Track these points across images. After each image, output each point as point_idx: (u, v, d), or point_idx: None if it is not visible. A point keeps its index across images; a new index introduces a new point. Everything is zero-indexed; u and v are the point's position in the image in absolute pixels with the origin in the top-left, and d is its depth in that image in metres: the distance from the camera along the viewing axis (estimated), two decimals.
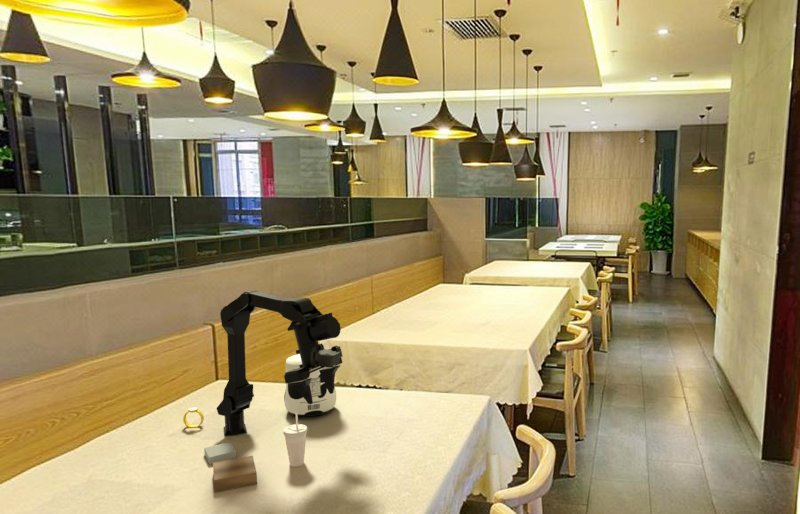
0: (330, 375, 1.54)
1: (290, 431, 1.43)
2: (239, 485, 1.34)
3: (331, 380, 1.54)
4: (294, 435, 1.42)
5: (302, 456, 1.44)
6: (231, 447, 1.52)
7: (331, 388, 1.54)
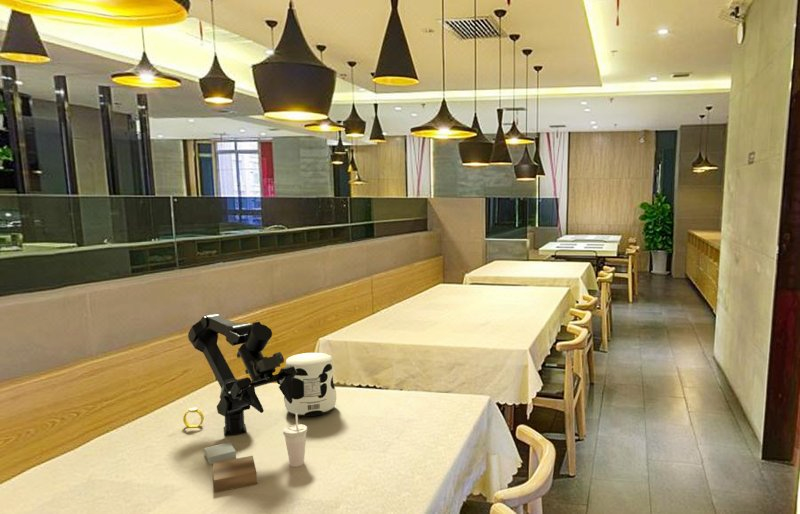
0: (285, 385, 1.56)
1: (290, 431, 1.43)
2: (239, 485, 1.34)
3: (287, 390, 1.55)
4: (294, 435, 1.42)
5: (302, 456, 1.44)
6: (231, 447, 1.52)
7: (289, 397, 1.54)
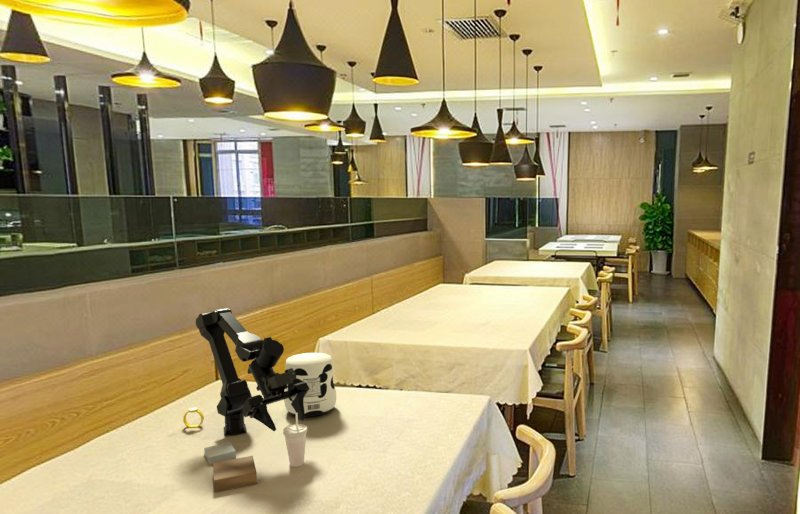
0: (298, 402, 1.52)
1: (290, 431, 1.43)
2: (239, 485, 1.34)
3: (300, 407, 1.51)
4: (294, 435, 1.42)
5: (302, 456, 1.44)
6: (231, 447, 1.52)
7: (302, 414, 1.50)
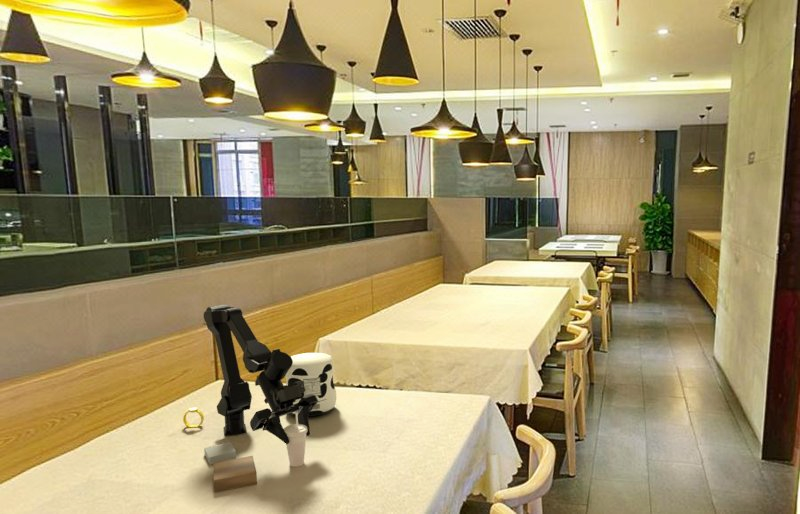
0: (302, 417, 1.48)
1: (290, 431, 1.43)
2: (239, 485, 1.34)
3: (304, 421, 1.48)
4: (294, 435, 1.42)
5: (302, 456, 1.44)
6: (231, 447, 1.52)
7: None
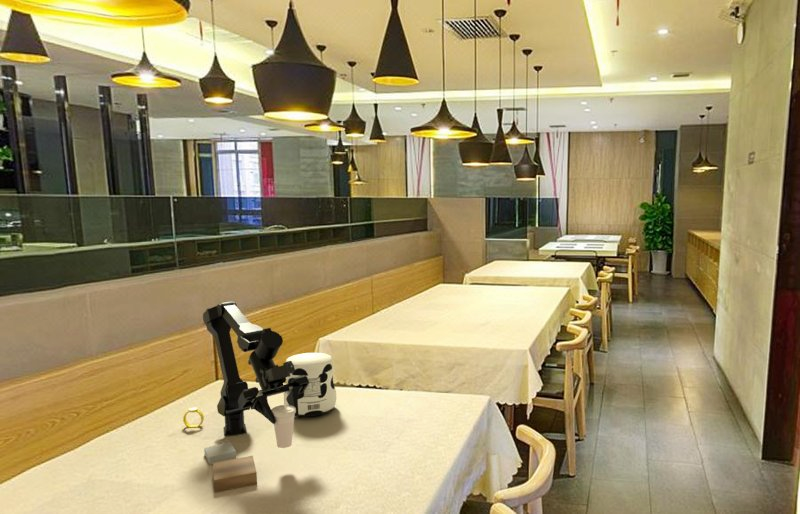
0: (292, 397, 1.46)
1: (277, 411, 1.41)
2: (239, 485, 1.34)
3: (293, 402, 1.45)
4: (281, 415, 1.40)
5: (289, 437, 1.42)
6: (231, 447, 1.52)
7: None
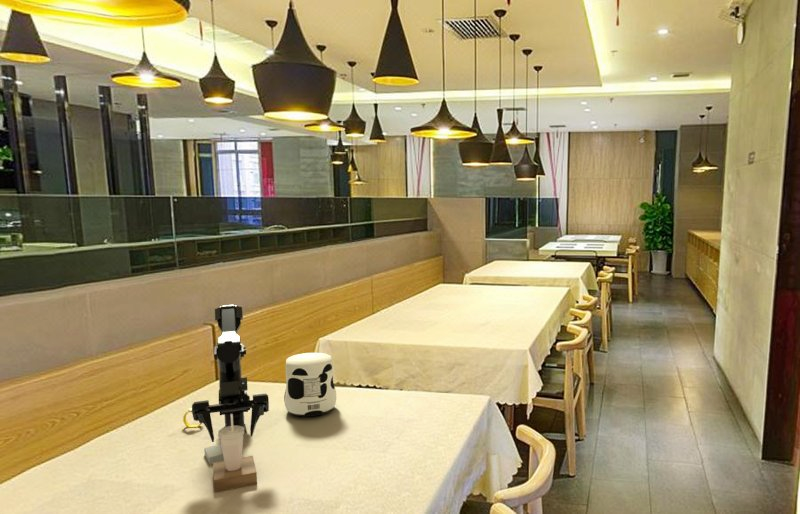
0: (251, 415, 1.40)
1: (223, 432, 1.36)
2: (239, 485, 1.34)
3: (251, 420, 1.39)
4: (223, 437, 1.35)
5: (234, 461, 1.36)
6: None
7: None
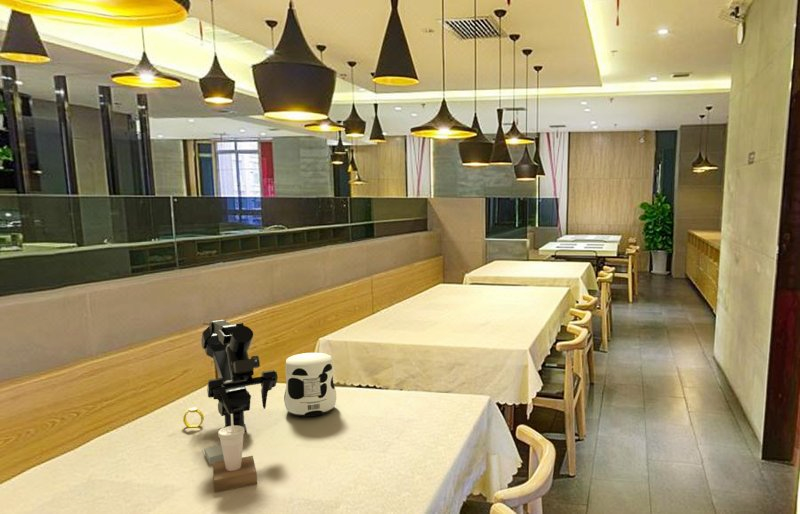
0: (262, 390, 1.54)
1: (223, 432, 1.36)
2: (239, 485, 1.34)
3: (263, 394, 1.53)
4: (223, 437, 1.35)
5: (234, 461, 1.36)
6: None
7: (263, 402, 1.52)
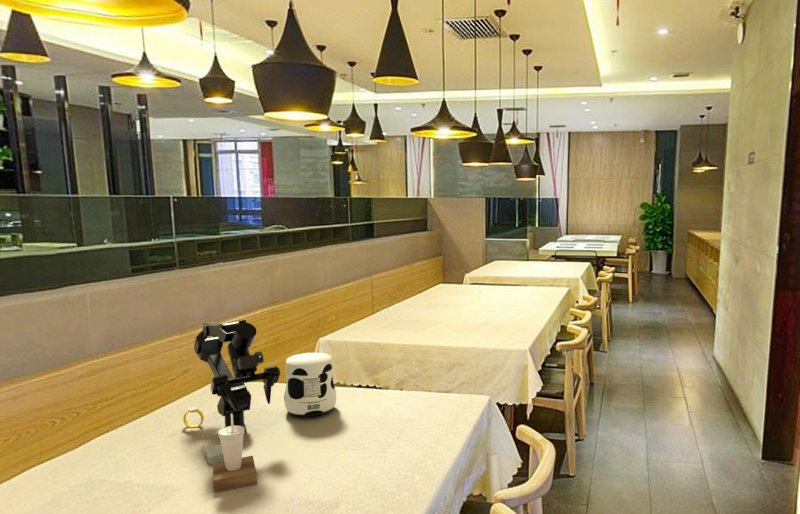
0: (266, 385, 1.56)
1: (223, 432, 1.36)
2: (239, 485, 1.34)
3: (267, 390, 1.55)
4: (223, 437, 1.35)
5: (234, 461, 1.36)
6: None
7: (267, 397, 1.54)
